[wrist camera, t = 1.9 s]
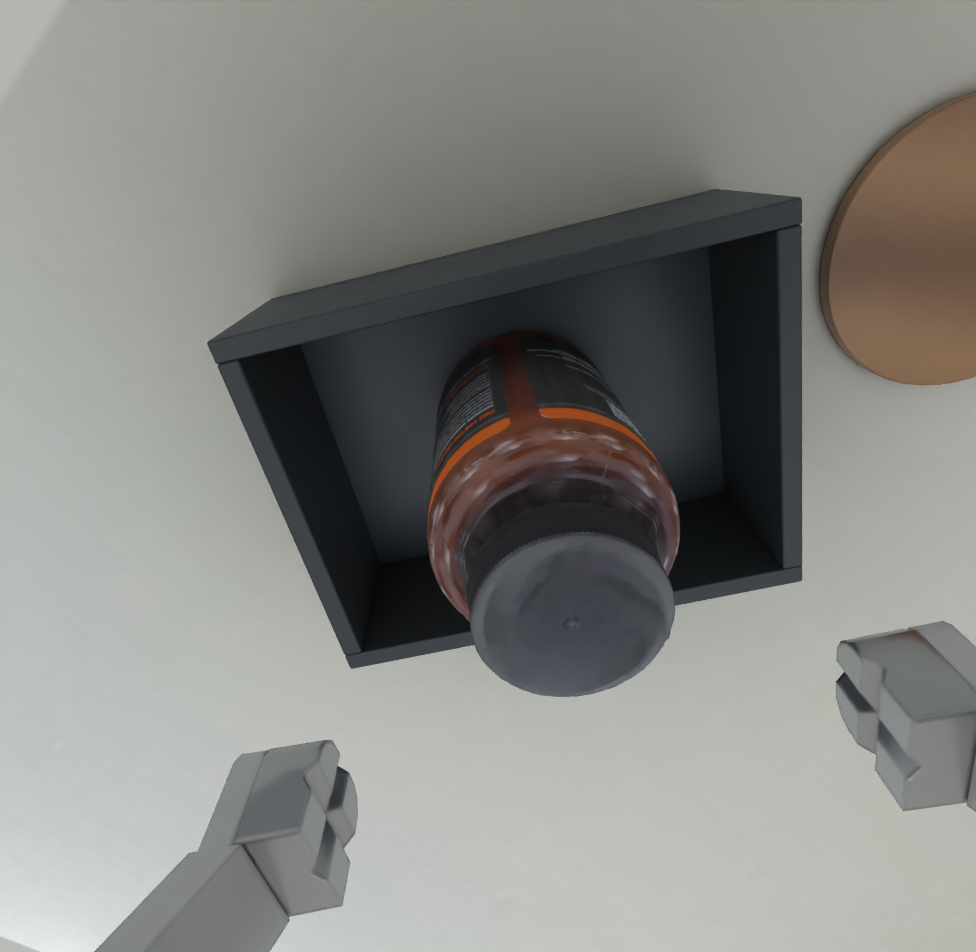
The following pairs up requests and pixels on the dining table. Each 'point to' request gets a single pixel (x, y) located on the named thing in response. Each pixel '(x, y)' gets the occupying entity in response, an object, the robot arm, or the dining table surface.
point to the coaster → (909, 254)
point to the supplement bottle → (550, 519)
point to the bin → (582, 323)
